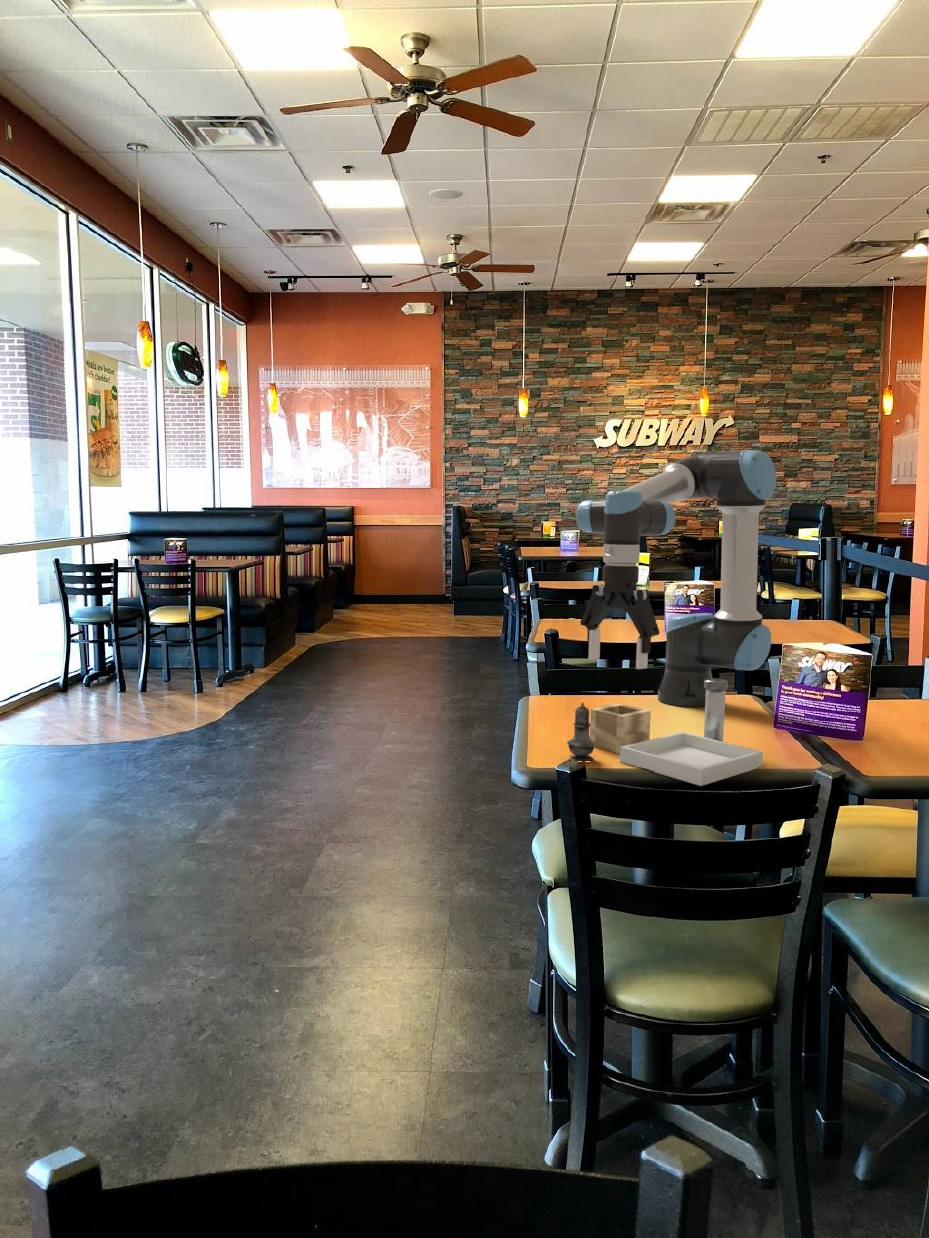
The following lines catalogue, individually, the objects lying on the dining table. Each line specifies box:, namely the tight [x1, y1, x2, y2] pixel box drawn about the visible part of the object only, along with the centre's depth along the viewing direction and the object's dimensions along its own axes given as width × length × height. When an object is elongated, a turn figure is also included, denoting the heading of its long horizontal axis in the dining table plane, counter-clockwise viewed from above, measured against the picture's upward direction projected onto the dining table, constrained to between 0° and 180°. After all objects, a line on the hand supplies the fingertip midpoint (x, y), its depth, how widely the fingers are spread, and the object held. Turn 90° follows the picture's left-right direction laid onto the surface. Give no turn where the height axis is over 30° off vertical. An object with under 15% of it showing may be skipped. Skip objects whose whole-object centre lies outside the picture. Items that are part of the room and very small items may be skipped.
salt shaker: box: [566, 702, 596, 762], centre depth 190 cm, size 6×6×12 cm
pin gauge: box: [703, 677, 729, 742], centre depth 198 cm, size 5×5×15 cm
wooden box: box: [589, 703, 652, 754], centre depth 201 cm, size 9×9×8 cm
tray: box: [619, 731, 764, 787], centre depth 188 cm, size 20×20×3 cm
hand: (617, 663), depth 199 cm, fingers open, 13 cm apart
